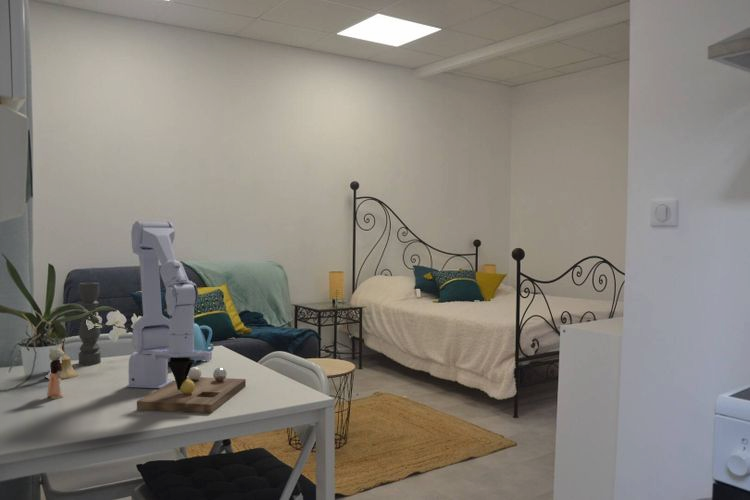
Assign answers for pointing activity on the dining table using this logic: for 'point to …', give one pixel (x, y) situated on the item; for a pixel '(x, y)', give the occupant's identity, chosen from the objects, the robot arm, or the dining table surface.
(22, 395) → the dining table surface
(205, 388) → the hole plate
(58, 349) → the grandmother figurine
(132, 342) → the robot arm
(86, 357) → the candle holder
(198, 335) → the decorative pot
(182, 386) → the ball
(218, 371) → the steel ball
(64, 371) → the hand bell
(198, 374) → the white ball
